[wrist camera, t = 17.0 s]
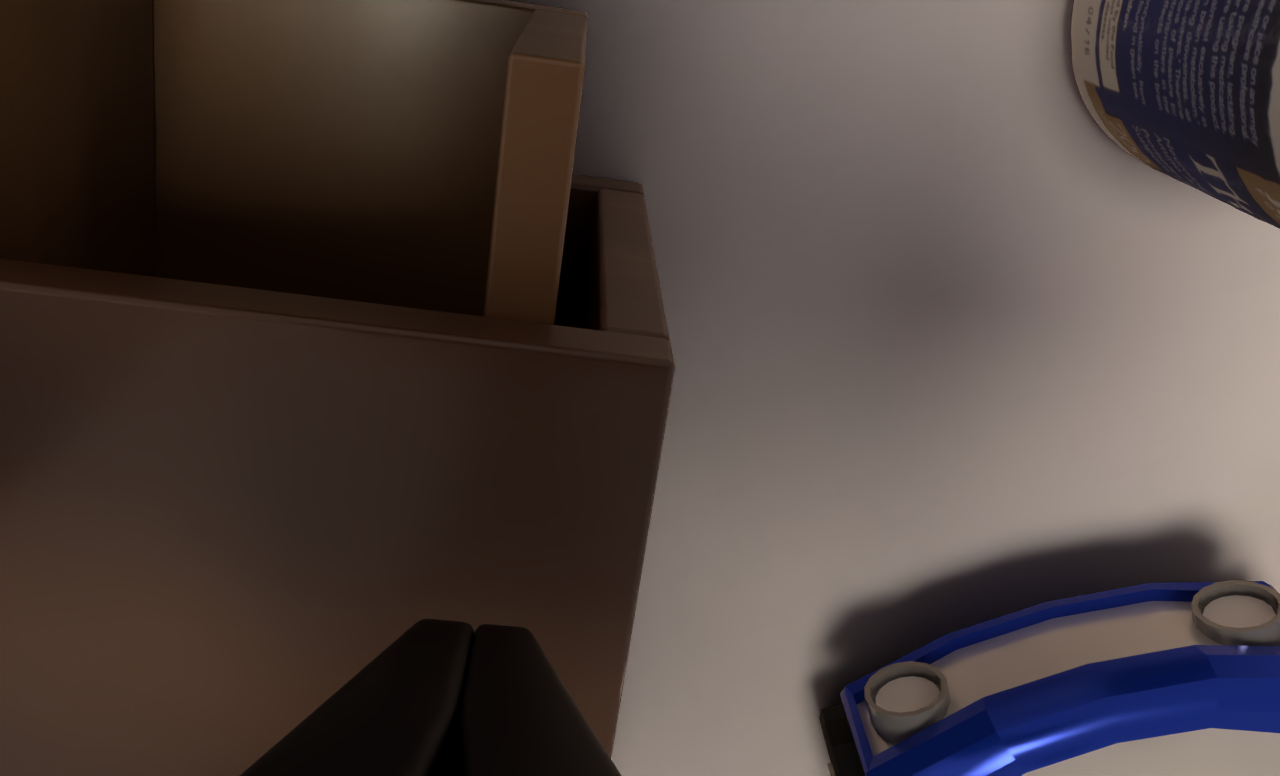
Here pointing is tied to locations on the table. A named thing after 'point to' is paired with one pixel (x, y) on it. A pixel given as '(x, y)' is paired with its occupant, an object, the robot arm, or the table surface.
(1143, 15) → the pill bottle
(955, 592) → the table surface
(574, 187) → the cabinet
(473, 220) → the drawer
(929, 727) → the toy car
